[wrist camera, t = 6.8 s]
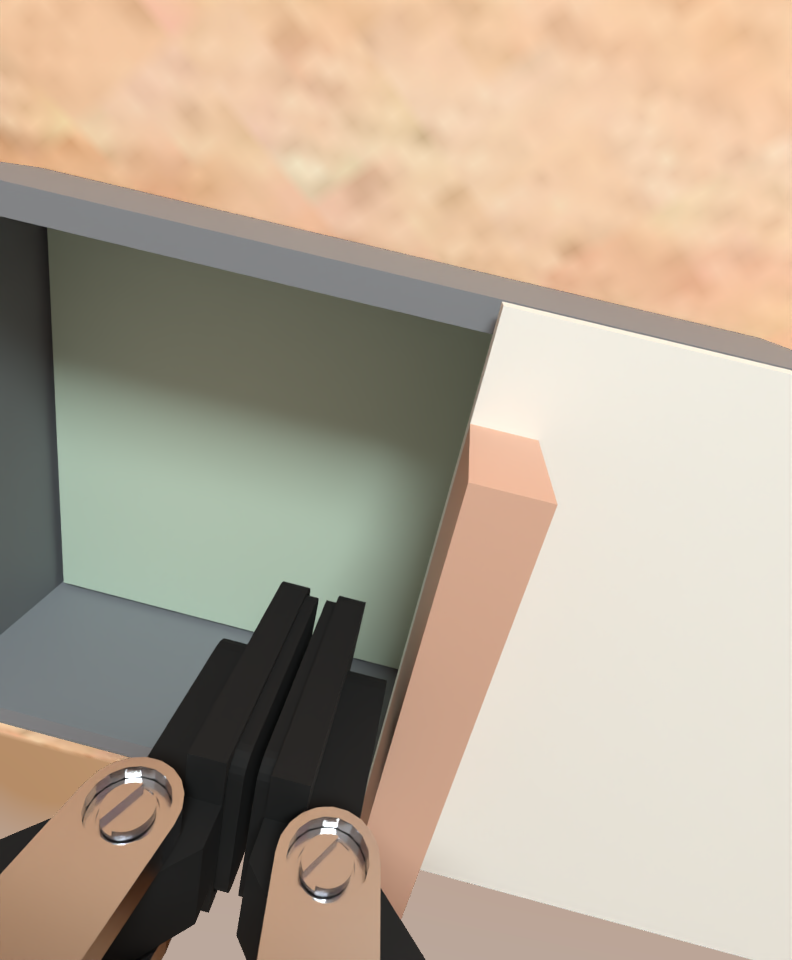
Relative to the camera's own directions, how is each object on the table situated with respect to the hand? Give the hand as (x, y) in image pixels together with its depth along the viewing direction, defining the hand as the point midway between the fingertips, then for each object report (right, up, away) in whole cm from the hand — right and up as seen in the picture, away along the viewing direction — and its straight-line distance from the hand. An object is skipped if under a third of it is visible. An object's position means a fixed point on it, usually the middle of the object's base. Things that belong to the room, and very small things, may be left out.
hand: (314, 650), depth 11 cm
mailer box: (0, +3, +7) cm, 8 cm away
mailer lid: (+12, -2, +1) cm, 12 cm away
